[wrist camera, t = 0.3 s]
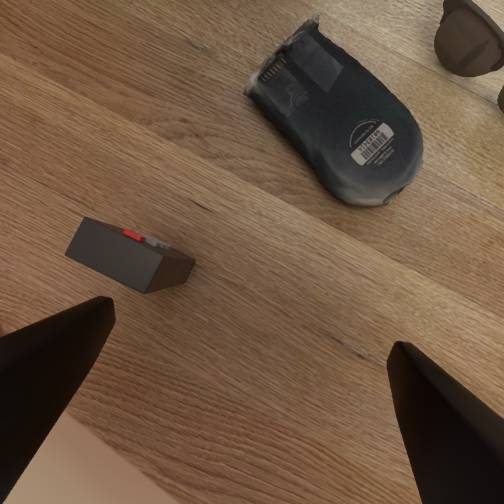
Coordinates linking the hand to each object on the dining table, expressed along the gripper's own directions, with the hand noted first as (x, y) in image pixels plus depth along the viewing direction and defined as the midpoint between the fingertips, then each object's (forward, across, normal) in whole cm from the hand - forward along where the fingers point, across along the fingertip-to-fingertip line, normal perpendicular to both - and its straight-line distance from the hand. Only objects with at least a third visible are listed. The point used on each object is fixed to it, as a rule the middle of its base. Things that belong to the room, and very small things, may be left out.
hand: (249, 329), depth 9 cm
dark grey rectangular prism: (+14, +8, +6) cm, 17 cm away
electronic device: (+21, -5, -5) cm, 22 cm away
